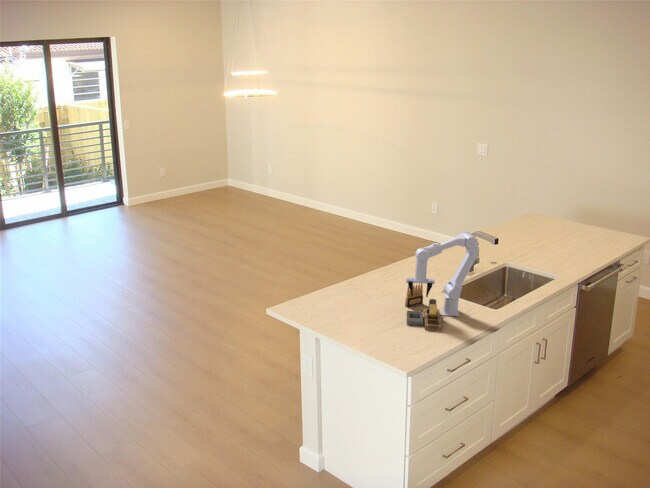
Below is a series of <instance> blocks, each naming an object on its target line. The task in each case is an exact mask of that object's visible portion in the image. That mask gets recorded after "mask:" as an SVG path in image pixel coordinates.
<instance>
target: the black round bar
mask: <svg viewBox="0 0 650 488" xmlns="http://www.w3.org/2000/svg"><path fill="white" fill-rule="evenodd" d="M430 304H436V305H437V299H435V298H430V299H429V301H428V309H429V310H430ZM428 314H429V313H428Z"/></svg>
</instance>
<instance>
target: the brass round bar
mask: <svg viewBox="0 0 650 488" xmlns="http://www.w3.org/2000/svg"><path fill="white" fill-rule="evenodd" d="M437 309H438V304H437V303H436V304H430V310H429V319H436V312H437Z"/></svg>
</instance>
